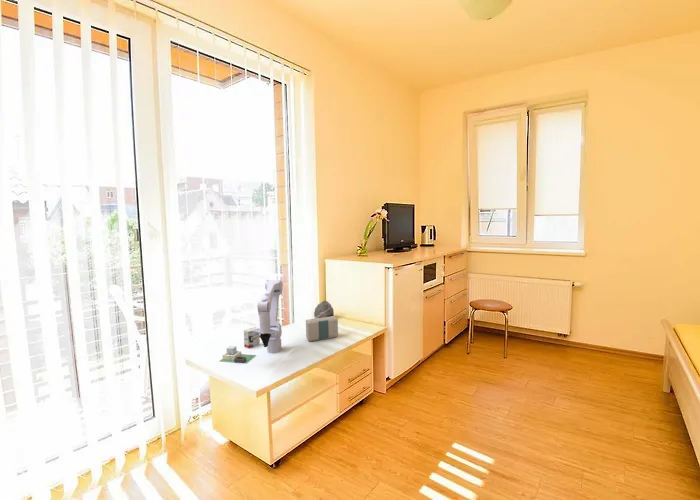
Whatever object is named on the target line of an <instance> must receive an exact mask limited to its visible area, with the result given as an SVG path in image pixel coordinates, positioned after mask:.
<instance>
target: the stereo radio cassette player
mask: <svg viewBox="0 0 700 500" xmlns="http://www.w3.org/2000/svg"><path fill="white" fill-rule="evenodd" d="M331 308H333V306H332V307H331ZM329 309H330V308H329ZM329 309H328V310H329ZM326 311H327V310H326ZM326 311H325V312H326ZM323 313H324V312H323ZM323 313H322V314H323ZM320 315H321V314H320ZM320 315H319V316H320ZM317 317H318V316H317ZM317 317H314V318H310V319H305V337H306V339H307V341H308V342H313V341H314V342H315V341H320V340H326V339H332V338H337V337H338V336H339V320H338V318H337V317H335V316H330V317H323V318H317Z"/></svg>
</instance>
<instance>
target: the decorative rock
mask: <svg viewBox="0 0 700 500" xmlns="http://www.w3.org/2000/svg"><path fill="white" fill-rule="evenodd" d="M331 307H332V308H331ZM329 308H330V309H329ZM328 309H329V310H328ZM326 310H327V311H326ZM325 311H326V312H325ZM334 311H335V310H334V308H333V306H332V305H331V303H330V302H329V301H327V300H322V301H321V302H320V303H318V304H317V305H316V307H315V309H314V312H313V317H314V318H316V317H317V316H318V317H317V318H323V317H330V316H334V313H335V312H334ZM323 312H324V313H323ZM322 313H323V314H322ZM320 314H321V315H320ZM319 315H320V316H319ZM334 317H335V316H334Z"/></svg>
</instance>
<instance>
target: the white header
mask: <svg viewBox="0 0 700 500" xmlns="http://www.w3.org/2000/svg"><path fill="white" fill-rule="evenodd" d="M241 354H242V350H237V353H236V354H235V355H227V351H226V352H224V353H223V354H222V357H221V358H222V359H226V360H234V359H235V358H236V357H237V356H238V357H239V356H241Z"/></svg>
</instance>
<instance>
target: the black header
mask: <svg viewBox="0 0 700 500" xmlns="http://www.w3.org/2000/svg"><path fill="white" fill-rule="evenodd" d="M245 361H246V357H238V356H237V357H236V358H235V359H234V363H233V364H235V363H236V364H245V363H244V362H245Z"/></svg>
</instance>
